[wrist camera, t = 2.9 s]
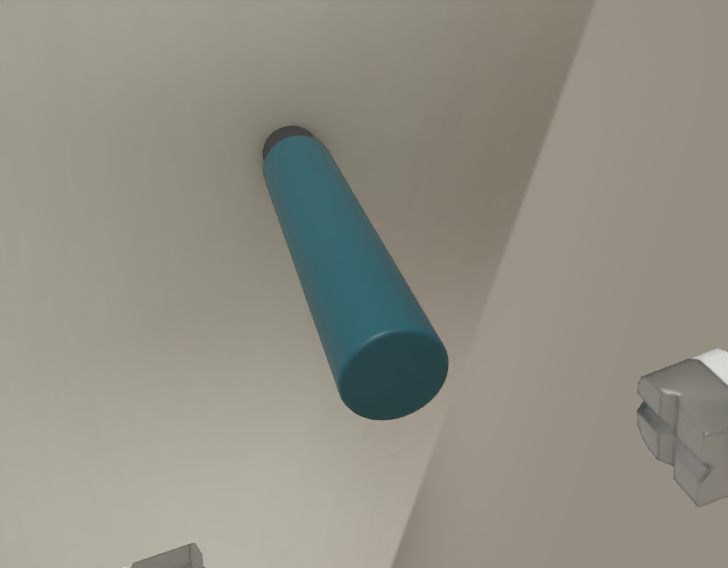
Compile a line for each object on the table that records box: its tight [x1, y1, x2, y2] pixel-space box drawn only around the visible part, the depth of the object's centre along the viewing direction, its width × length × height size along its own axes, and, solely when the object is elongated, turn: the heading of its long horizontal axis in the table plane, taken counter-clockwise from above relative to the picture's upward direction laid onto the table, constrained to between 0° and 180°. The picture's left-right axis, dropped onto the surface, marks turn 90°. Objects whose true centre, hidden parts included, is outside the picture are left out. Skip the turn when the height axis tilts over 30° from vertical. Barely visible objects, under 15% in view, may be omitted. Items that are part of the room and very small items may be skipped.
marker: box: [263, 126, 448, 420], centre depth 20 cm, size 2×2×13 cm
